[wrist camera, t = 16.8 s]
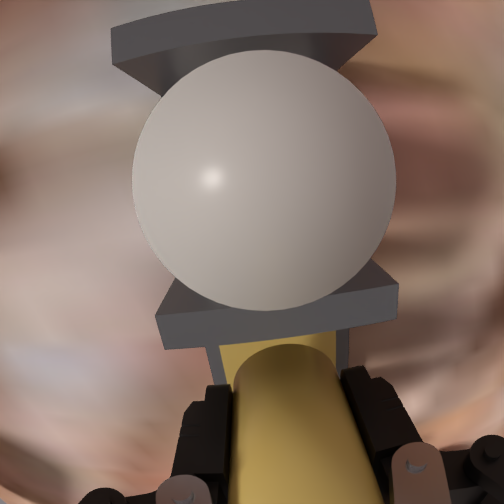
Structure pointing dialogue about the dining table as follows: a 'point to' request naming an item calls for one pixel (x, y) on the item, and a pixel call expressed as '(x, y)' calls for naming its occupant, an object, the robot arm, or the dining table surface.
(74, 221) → the dining table surface
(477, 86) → the dining table surface
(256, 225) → the plug white
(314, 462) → the plug mustard
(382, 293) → the grey compartment rack
